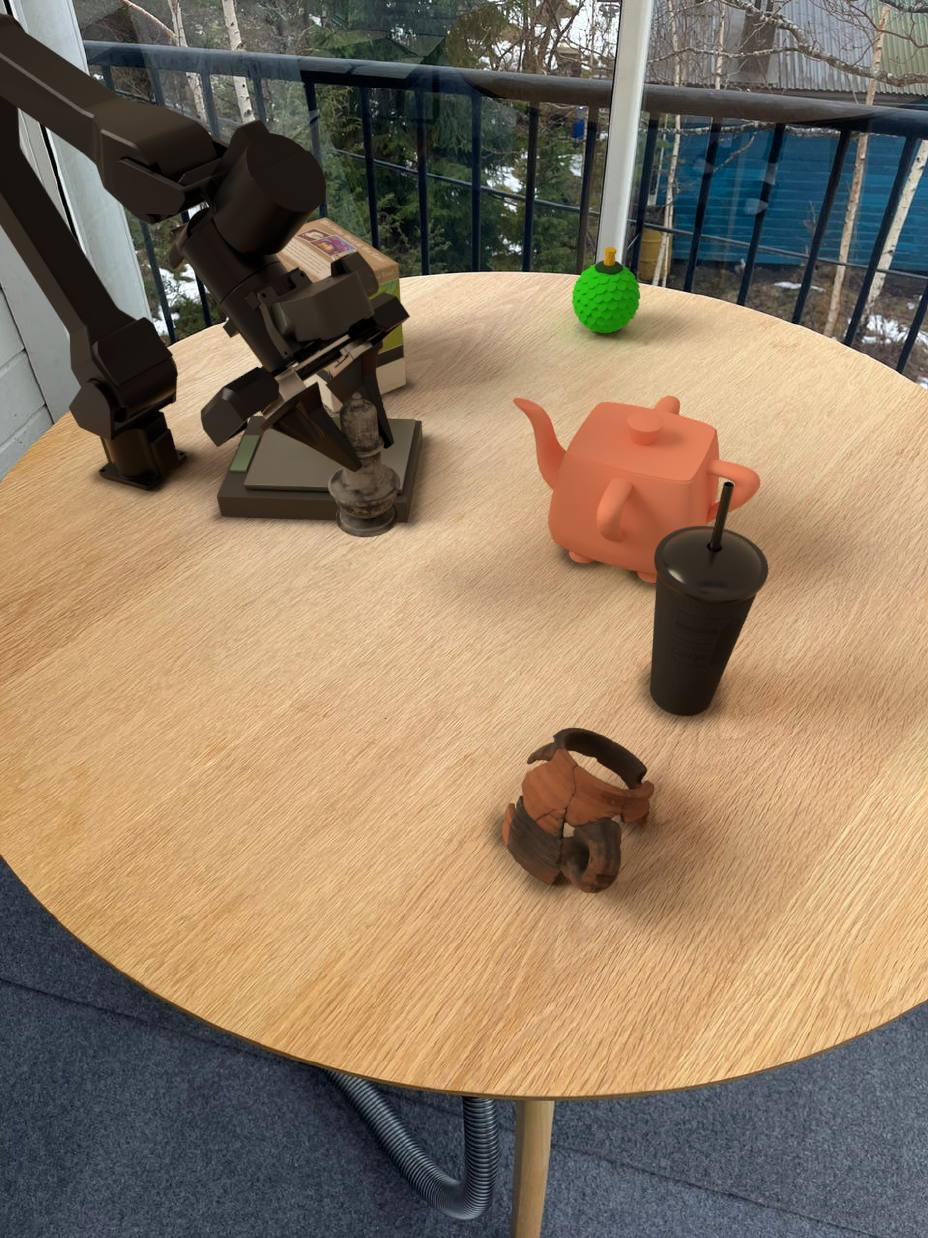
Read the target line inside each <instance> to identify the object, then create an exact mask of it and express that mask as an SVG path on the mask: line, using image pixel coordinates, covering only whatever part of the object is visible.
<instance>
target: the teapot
mask: <svg viewBox="0 0 928 1238" xmlns="http://www.w3.org/2000/svg"><path fill="white" fill-rule="evenodd" d="M512 402H513V404H514V405H515V406H516V407H517V408H518V409H519V410H520V411H521V412H522V413H524V415H525V416H526V417H527V418H528V420H529V422H530V424H531V427H532V429H533V435H534V442H535V451H536V461H537V466H538V470H539V473H540V475H541V477H542V479H543V480H544V482H545V483H546V484H547V486H548V487H549V488H550V489H551V490H552V493H551V498H550V503H549V511H548V520H547V526H548V529H549V533H550V536H551V539H552V541H553V543H554V544H556V545H557V546H559V547H561V548H562V549H564V550H567V551H568V555H569V557H570V559H571V560H573V561H574V562H576V563H580V564H590V563H593V562H595V561H596V562H599V563H602V564H606V565H609V566H613V567H617V568H620V569H625V570H630V571H634V572H636V573H637V574H636V575H637V576H638V578H639V579H641V580H642V581H644V582H647V583H652V584H653V583H654V584H656V578H657V572H656V569H655V565H654V555H655V550H656V548H657V546H658V544H659V543H660V541H661V540H662V539H663V538H664V537H665V536H667V535H668V534H670V533H672V532H674V531H676V530H679V529H682V528H686V527H691V526H710V522H712V521H715V519H716V515H717V510H718V506H719V502H720V500H718V499H717V497H718V495H719V494H718V492H719V485H720V478H721V479H726V480H728V481H730V482H732V483H733V484H734V489H733V493H732V498H731V502H730V506H729V510H728V514H729V513H731V512H733V511H735V510H737V509H739V508H742V506H744V505H745V504H746V503H748V502H749V501H750V500H751V499H753V498H754V496H755V495H756V494H757V492H758V491H759V489H760V487H761V479H760V478H761V477H760V476H759V474H758V473H757V472H756V471H754V470H753V469H751V468H749V467H748V466H744V465H743V464H739V463H735V462H730V461H727V460H722V459H720V448H719V445H720V444H719V436H718V430H717V428H715V427H714V426H712V425H711V424H708V423H706V422H703V421H701V420H697V419H694V418H692V417H691V418H690V417H687V416H684V415H680V411H681V402H680V399H679V398H677V397H676V396H674V395H665V396H663V397H662V398H660V399H659V400H658V401H657V402H656V403H655V406H654V407H653V408H651V407H645V406H640V405H633V404H628V403H623V402H615V401H614V402H613V401H601V402H599V403H597V404H596V405H595V406H594V408H592V410H591V411H590V413H588V414H587V416H586V418H585V419H584V421H583V422H582V424H581V425H580V426H579V428H578V430H576V433H575V434H574V436H573V437H572V439H571V441H570V443H569V444H568V447H567V449H565V448H564V447H563V446H562V445H561V443H560V442H559V440H558V437H557V435H556V432H555V428H554V424H553V422H552V419H551V417H550V416H549V413H547V411H546V409H544V407H542V406H541V405H540V404H538V403H537V402H534V401H532V400H529V399H526V398H523V397H515V398H513V399H512ZM717 500H718V501H717Z"/></svg>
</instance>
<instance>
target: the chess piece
mask: <svg viewBox="0 0 928 1238" xmlns="http://www.w3.org/2000/svg"><path fill="white" fill-rule="evenodd" d="M352 398H353V399H352V400H350V401H347V402H346V403H344V404H343V406H342V407H341V409H340V411H339V417H340V425H341V432H342V433H343V435H344V436H345V437H346V439H347V440H348V442H349V443H350V444H351V446H352V447H353V449H354V450H355V452H356V454H357V456H358V457H359V459H360V461H361V463H362V465H363V467H362V468H361V469H360V470H358V471H357V472H352V471H350V470H349V469H347V468H345V467H342V468H340V469H339V470H337V471H336V472H335V473H334V474H333V475H332V476H331V477H330V480H329V482H328V489H329V491H330V494H331V495H332V496H333V497H334V499H335V501H336V503H337V504H338V506H339V507H340V509H339V510H338V511H337V514H336V520H335V522H336V525H337V527H338V528H339V530H341V531H342V532H344V533H345V534H347V535H350V536H353V537H356V538H374V537H378V536H381V535H384V534H387V533H389V532H390V531H391V530H392V529H394V528H395V526H396V525H397V524H398V523H399V522H398V519H399V514H398V510H397V508H396V507H395V506H394V505H393V502H394V500H395V498H396V495H397V492H398V491H399V488H400V477H399V476H398V474H397V472H395V471H394V470H393V469H392V468H390V467H388V466H387V465H384V464H382V462H381V449H382V448H383V446H384V440H383V438H382V437H381V436H380V435H379V434H378V421H377V410H376V407H375V406H374V405H373V404H372V403H371V402H370V401H368V400H364V399H360V398H361V395H360V394H359V393H358V392H355V393H354V395H353V396H352Z"/></svg>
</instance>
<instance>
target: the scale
mask: <svg viewBox="0 0 928 1238" xmlns="http://www.w3.org/2000/svg"><path fill="white" fill-rule="evenodd" d="M415 420H416V425H415V430H414V435H413V440H412V446H411V451H410V456H409V461H408V466H407V471H406V476H405V481H404V487H403V492H402V494H397V495H396V498H395V500H394V502H393V505H394V506H395V507H396V508H397V510H398V514H399V519H398V522H397V523H405V524H408V522H409V519H410V518H409V517H410V512H411V506H412V502H413V496H414V490H415V485H416V478H417V473H418V469H419V464H420V456H421V453H422V447H423V441H424V439H423V438H424V437H423V421H422V420H419V419H415ZM265 421H266V419H265V418H264V416H263V415H253V416H252V417H250V418H249V419H248V425H247V428H246V429H245V430H244V431H243V432H242V433H243V434H242V436H241V438H240V441H239V443H238V445H237V448H236V450H235V452H234V455H233V457H232V460H231V462H230V464H229V467H228V469H227V471H226V474H225V475H224V477H223V481H222V483H221V485H220V487H219V491H218V492H217V495H216V499H217V504H218V508H219V512H220V516H221V517H233V518H234V517H237V518H238V517H239V518H261V519H262V518H264V519H265V518H266V519H290V520H291V519H293V520H319V521H320V520H321V521H322V520H323V521H336V514H337V511H338V510H339V509H340V507H339V506H338V504H337V503H336V501H335V499H334V497H333V496H332V495H331V494H330V492H329V491H299V490H270V489H245V487H244V482H245V480H246V477H247V475H248V472H249V470H250V467H251V465H252V462H253V460H254V457H255V455H256V452H257V450H258V447H259V445H260V442H261V440H262V437H263V435H264V432H263V431H262V430H261V429H260V428H259V426H260V425H262V424H263V423H264V422H265Z"/></svg>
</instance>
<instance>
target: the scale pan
mask: <svg viewBox="0 0 928 1238" xmlns="http://www.w3.org/2000/svg"><path fill="white" fill-rule="evenodd" d="M330 417H331V418H332V419H333V421H334V422H335V424H336V425H337V426H338V428H339V429H340V431H341V425H340V416H330ZM387 418H388V422H389V425H390V429H391V432H392V435H393V439H394V444H393V445H392V446H390V447H389V448H388V449H385V448H382V449H381V462H382V464H384V465H387V466H388V467H390V468H392V469H393V470H394V471H395V472H397V474H398V476H399V477H400V488H399V491H398V492H397V494H402V492H403V487H404V481H405V476H406V471H407V466H408V461H409V456H410V451H411V446H412V440H413V435H414V430H415V425H416V420H417V419H416V418H395V417H394V418H393V417H387ZM342 467H344V466H342V465H340V464H338V463H337V462H335V461H333V460H332V459H330V458H328V457H326V456H325V455H323V454H321V453H320V452H318V451H316V450H314V449H312V448H311V447H309V446H307V445H305V444H303V443H301V442H299V441H297V440H295V439H293V438H291V437H288V436H286V435H284V434H282V433H280V432H278V431H275V430H273V429H268V430H266V431H265V432H264V435H263V437H262V440H261V442H260V445H259V447H258V450H257V452H256V455H255V457H254V460H253V462H252V465H251V467H250V470H249V472H248V475H247V477H246V480H245V482H244V487H245V489H270V490H299V491H329V489H328V482H329V480H330V477H331V476H332V475H333V474H334V473H335V472H336V471H337V470H339V469H340V468H342ZM329 492H330V491H329Z"/></svg>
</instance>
